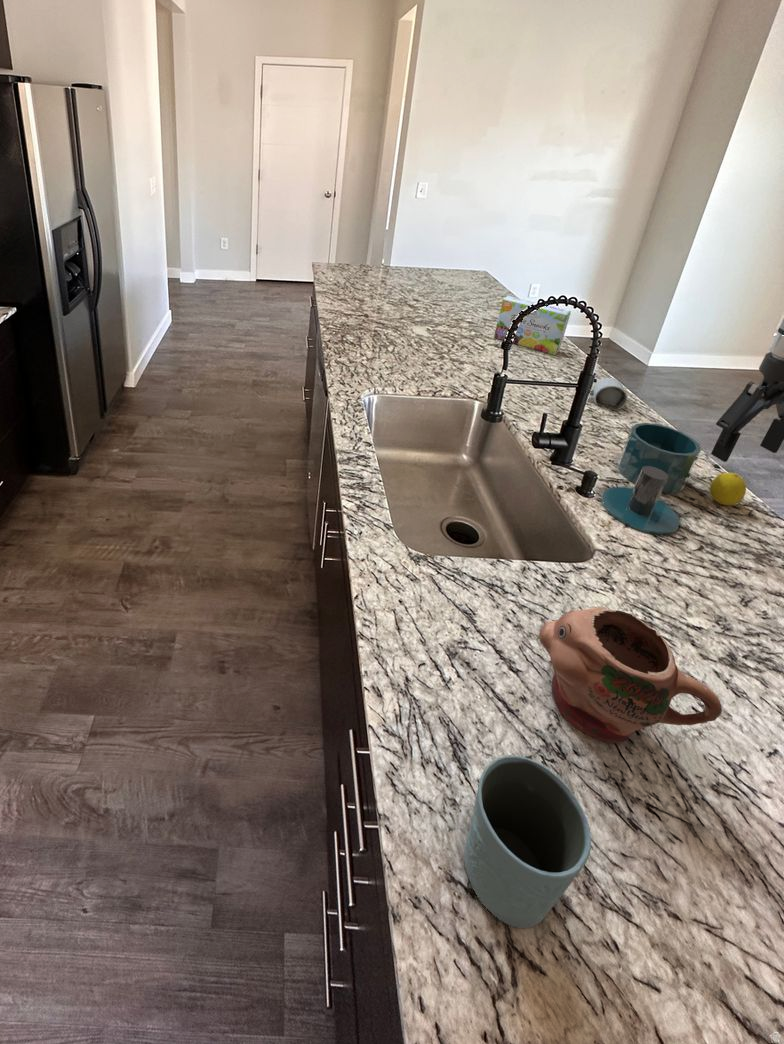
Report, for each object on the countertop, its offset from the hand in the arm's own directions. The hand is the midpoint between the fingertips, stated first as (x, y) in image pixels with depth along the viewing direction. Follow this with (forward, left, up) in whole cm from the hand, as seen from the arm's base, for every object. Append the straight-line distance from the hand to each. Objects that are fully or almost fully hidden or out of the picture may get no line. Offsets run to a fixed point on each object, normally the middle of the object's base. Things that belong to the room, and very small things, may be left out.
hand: (743, 453), depth 108 cm
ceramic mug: (+41, -9, -13) cm, 44 cm away
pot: (+11, +7, -13) cm, 18 cm away
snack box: (+82, -17, -13) cm, 84 cm away
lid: (+2, +20, -12) cm, 23 cm away
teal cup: (-40, +84, -13) cm, 94 cm away
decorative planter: (-29, +60, -13) cm, 68 cm away
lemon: (0, 0, -13) cm, 13 cm away
